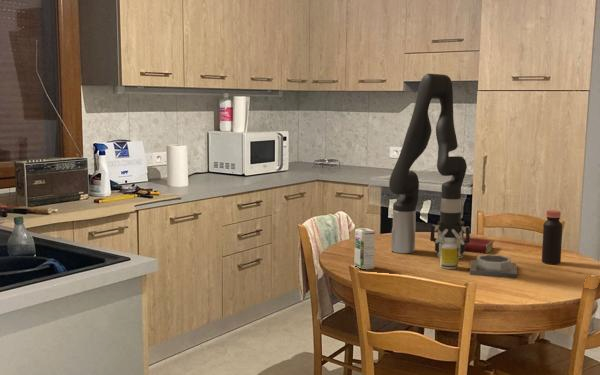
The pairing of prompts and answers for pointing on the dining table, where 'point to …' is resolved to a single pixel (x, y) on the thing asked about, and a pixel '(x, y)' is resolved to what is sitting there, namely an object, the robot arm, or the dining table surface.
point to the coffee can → (455, 241)
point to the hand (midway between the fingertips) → (449, 253)
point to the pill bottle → (449, 253)
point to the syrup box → (364, 248)
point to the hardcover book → (478, 245)
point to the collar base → (493, 266)
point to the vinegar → (552, 238)
